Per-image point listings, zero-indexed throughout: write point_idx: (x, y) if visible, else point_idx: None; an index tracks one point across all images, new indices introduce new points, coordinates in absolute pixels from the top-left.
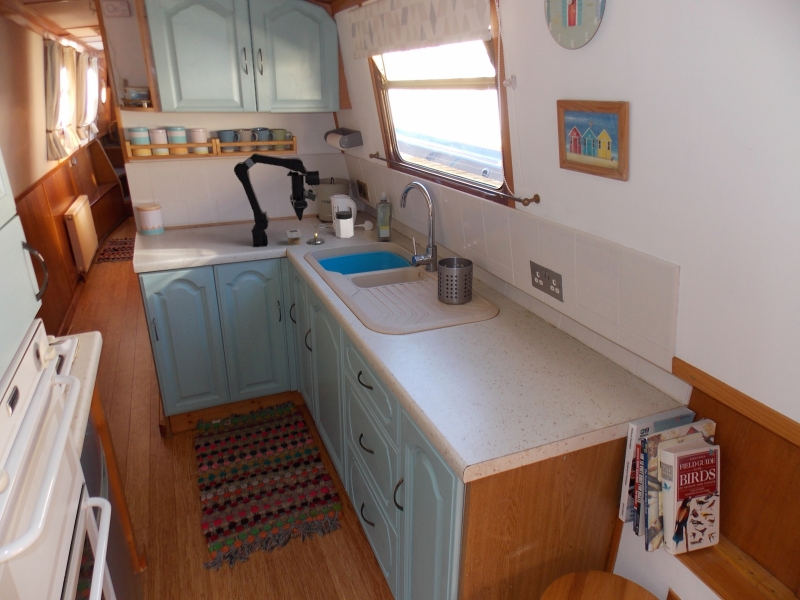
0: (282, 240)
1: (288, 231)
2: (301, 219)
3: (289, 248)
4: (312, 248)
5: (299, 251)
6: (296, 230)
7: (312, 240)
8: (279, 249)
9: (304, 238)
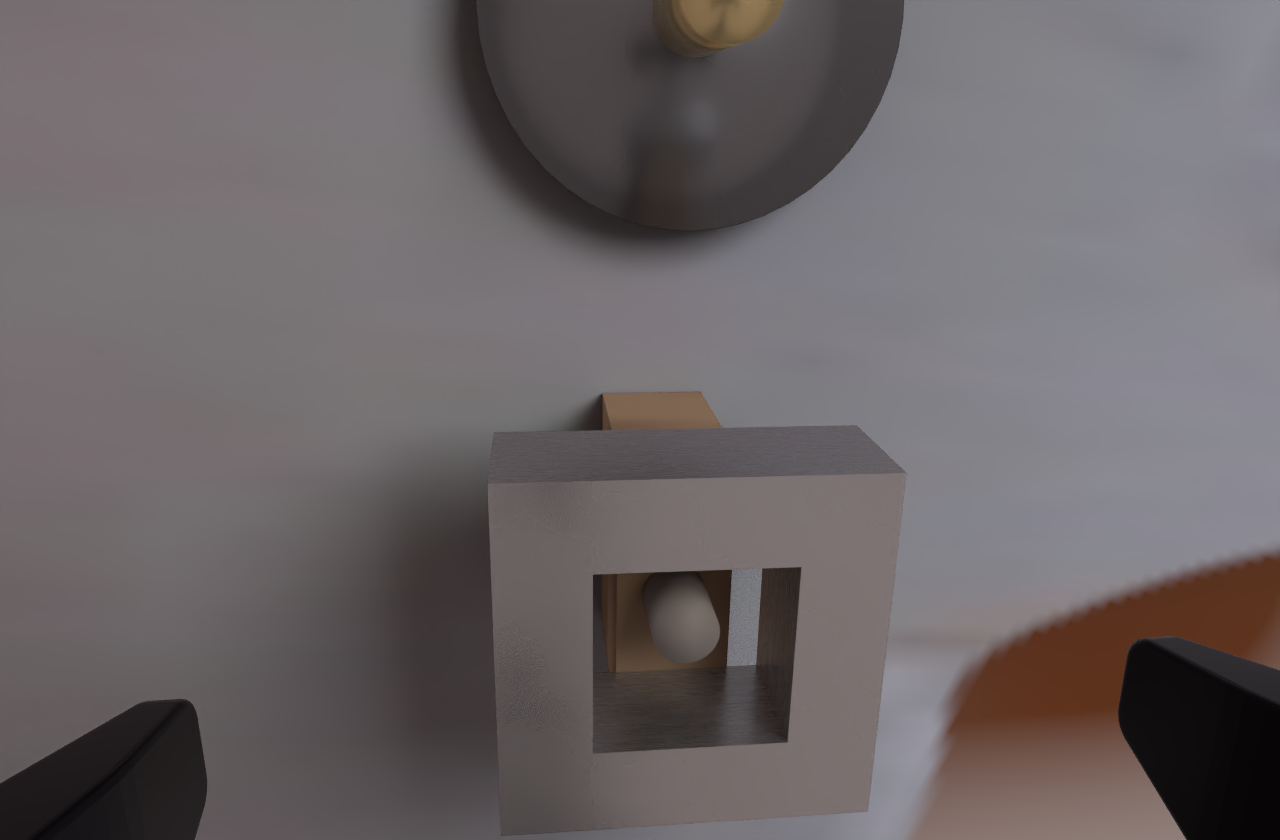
0: (290, 708)
1: (687, 778)
2: (1218, 659)
3: (916, 609)
4: (1111, 185)
5: (1186, 455)
6: (594, 572)
7: (694, 113)
8: (908, 763)
9: (209, 251)
